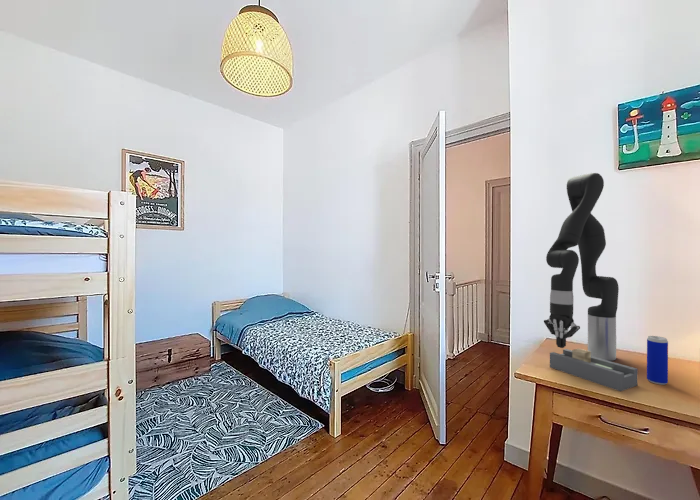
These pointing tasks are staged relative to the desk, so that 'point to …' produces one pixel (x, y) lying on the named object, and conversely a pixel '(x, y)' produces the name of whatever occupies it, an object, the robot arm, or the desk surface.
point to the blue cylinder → (657, 360)
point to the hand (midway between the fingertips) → (560, 347)
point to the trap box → (596, 370)
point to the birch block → (582, 355)
